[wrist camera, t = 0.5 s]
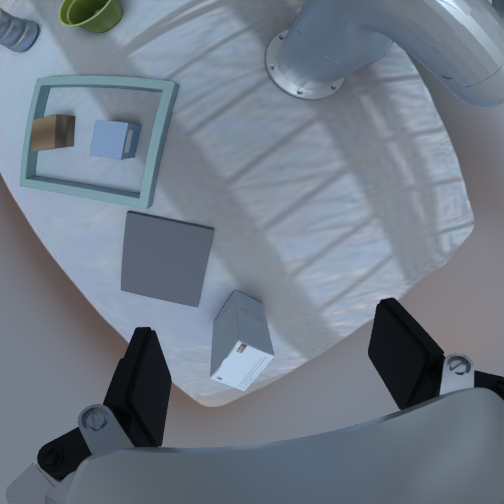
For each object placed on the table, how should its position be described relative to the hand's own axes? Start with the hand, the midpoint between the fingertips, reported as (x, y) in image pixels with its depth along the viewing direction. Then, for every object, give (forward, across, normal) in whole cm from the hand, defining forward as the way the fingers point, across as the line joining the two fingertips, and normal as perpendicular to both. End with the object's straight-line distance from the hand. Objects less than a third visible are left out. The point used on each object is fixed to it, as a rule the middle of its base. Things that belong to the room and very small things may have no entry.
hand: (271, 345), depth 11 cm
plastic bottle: (+33, +37, -38) cm, 63 cm away
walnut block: (+33, +28, -15) cm, 46 cm away
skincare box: (+34, +2, +20) cm, 39 cm away
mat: (+33, +13, +9) cm, 37 cm away
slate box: (+33, +17, -11) cm, 39 cm away
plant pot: (+33, +19, -34) cm, 52 cm away
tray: (+33, +22, -13) cm, 42 cm away
